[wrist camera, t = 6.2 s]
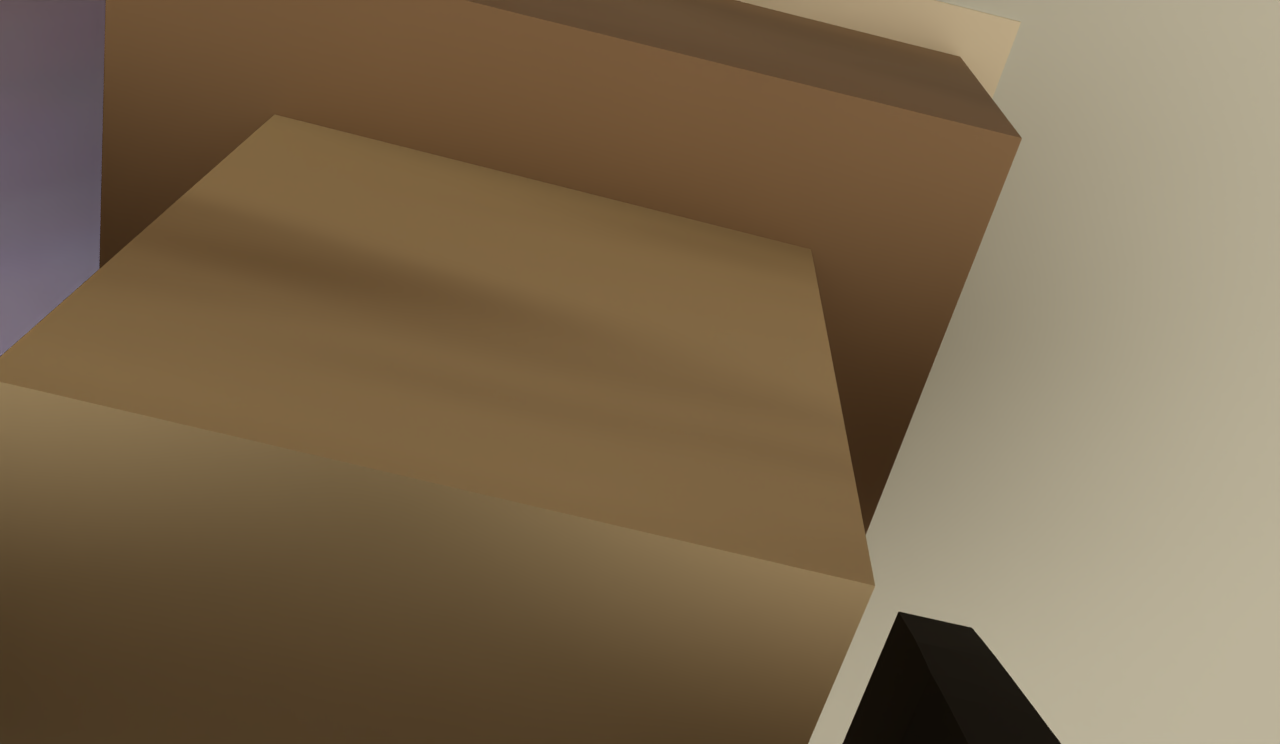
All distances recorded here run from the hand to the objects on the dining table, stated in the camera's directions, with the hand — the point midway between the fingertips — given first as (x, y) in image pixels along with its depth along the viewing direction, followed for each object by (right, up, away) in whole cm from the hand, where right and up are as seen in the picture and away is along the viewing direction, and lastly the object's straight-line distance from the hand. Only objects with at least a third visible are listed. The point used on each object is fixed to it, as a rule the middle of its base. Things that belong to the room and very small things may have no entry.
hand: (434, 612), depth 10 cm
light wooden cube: (0, +1, +3) cm, 3 cm away
